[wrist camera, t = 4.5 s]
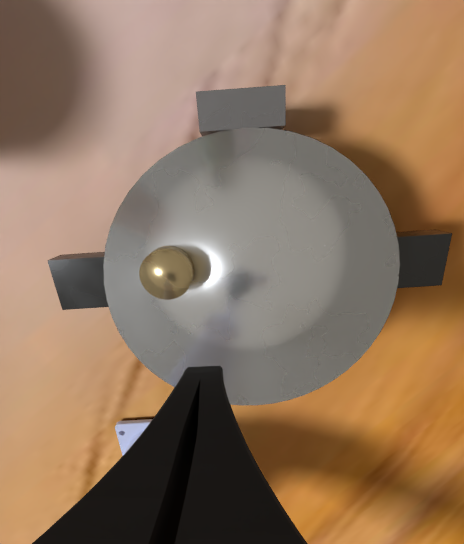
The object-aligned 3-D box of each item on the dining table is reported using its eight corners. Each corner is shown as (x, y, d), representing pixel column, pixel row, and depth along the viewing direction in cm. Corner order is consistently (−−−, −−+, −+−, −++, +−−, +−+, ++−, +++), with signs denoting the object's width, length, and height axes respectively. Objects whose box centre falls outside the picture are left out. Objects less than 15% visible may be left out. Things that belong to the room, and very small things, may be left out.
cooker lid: (370, 383, 17) (390, 411, 15) (140, 397, 17) (128, 426, 15) (405, 121, 12) (442, 108, 10) (82, 144, 12) (52, 136, 10)
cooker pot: (390, 332, 20) (427, 366, 17) (110, 350, 21) (83, 387, 17) (424, 98, 15) (489, 70, 11) (53, 125, 16) (-3, 106, 12)
